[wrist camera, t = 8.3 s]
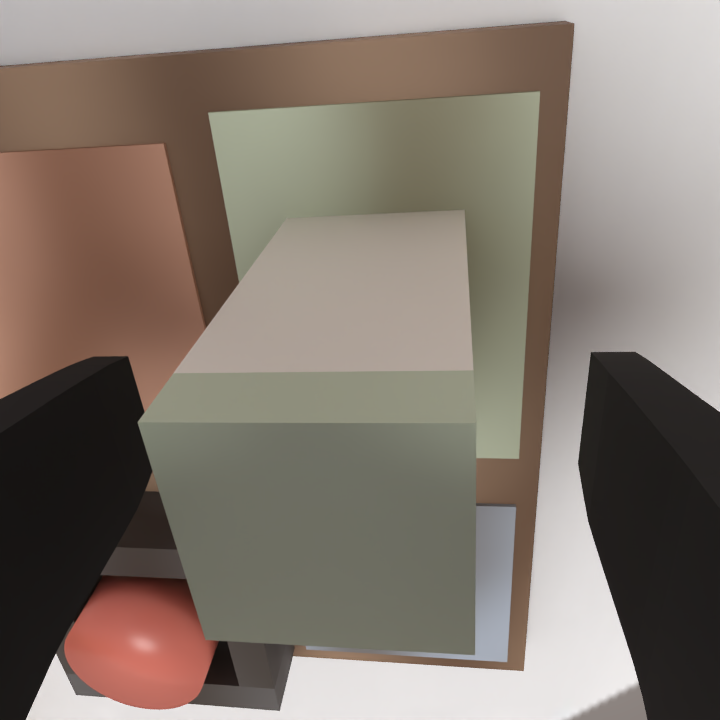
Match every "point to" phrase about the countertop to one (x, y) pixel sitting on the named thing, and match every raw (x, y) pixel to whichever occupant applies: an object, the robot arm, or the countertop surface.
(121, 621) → the button
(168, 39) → the countertop surface
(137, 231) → the compartment tray
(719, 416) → the robot arm
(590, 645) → the countertop surface
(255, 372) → the two-tone sage block
